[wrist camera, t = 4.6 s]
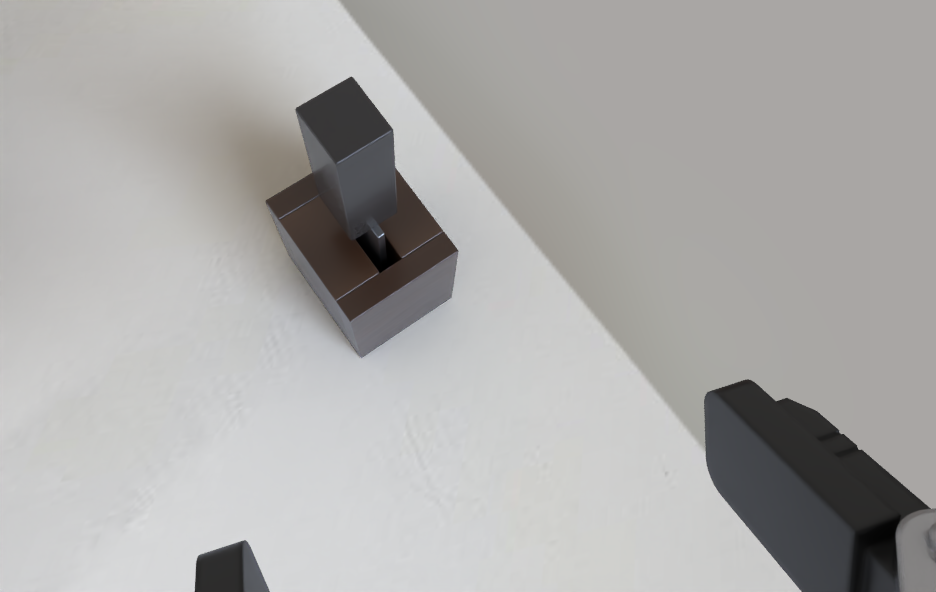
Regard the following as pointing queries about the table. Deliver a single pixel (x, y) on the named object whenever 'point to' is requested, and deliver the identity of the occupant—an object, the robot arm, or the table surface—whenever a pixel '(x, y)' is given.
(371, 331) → the knife block
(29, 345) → the table surface
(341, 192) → the knife
